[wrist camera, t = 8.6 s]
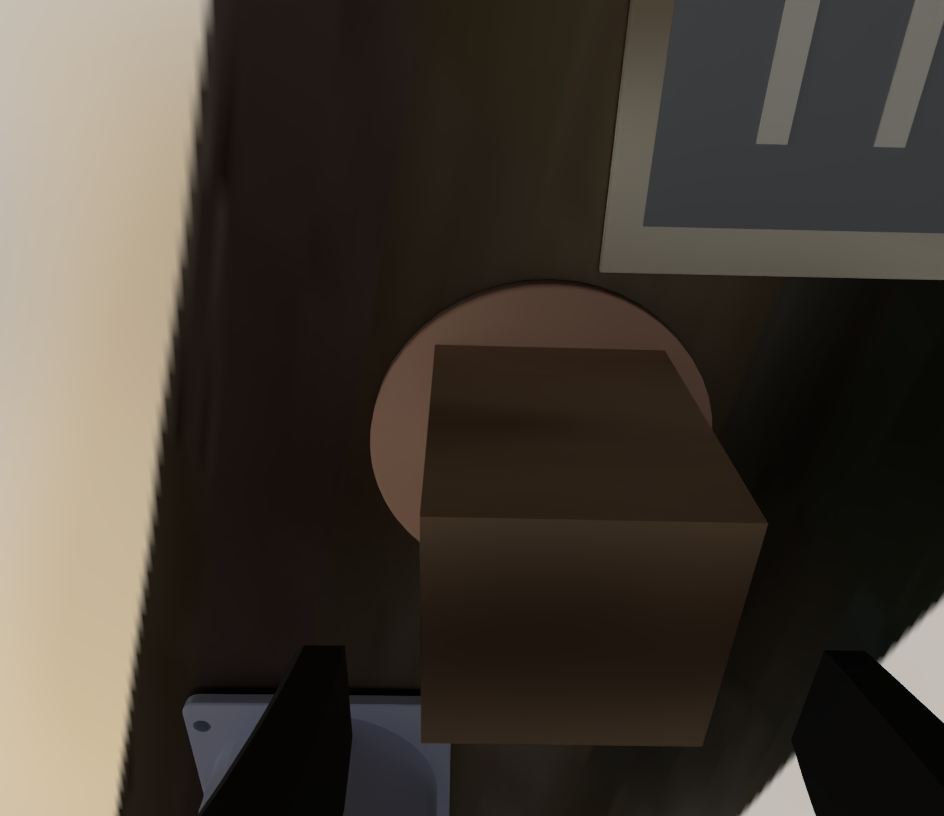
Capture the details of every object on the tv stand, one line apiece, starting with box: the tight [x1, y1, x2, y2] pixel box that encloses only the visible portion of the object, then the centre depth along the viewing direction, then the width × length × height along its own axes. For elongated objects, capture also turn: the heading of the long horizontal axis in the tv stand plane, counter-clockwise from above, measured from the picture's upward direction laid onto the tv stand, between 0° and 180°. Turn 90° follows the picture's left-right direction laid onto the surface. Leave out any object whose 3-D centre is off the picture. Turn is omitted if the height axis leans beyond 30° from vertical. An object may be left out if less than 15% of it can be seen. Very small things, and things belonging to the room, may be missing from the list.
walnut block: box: [420, 345, 768, 747], centre depth 14 cm, size 5×5×6 cm
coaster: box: [370, 280, 712, 542], centre depth 17 cm, size 8×8×1 cm
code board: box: [599, 0, 944, 280], centre depth 13 cm, size 8×8×1 cm
